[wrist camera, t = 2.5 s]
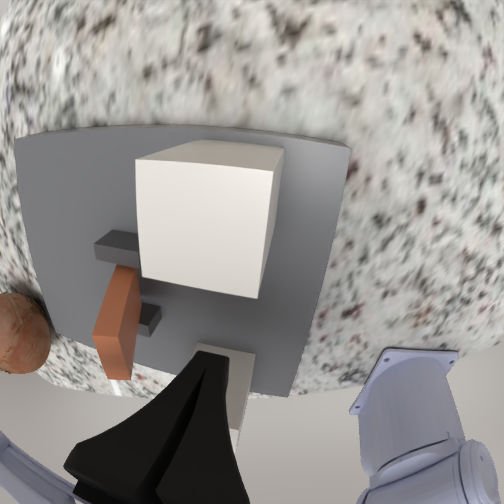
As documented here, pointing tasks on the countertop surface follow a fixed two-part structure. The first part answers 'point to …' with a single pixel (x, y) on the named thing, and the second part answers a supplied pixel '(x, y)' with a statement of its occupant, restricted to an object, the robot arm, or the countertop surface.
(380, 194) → the countertop surface
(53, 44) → the countertop surface
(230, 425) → the far plug
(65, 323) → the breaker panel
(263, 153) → the near plug
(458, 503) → the robot arm
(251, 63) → the countertop surface
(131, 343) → the bar
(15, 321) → the onion
